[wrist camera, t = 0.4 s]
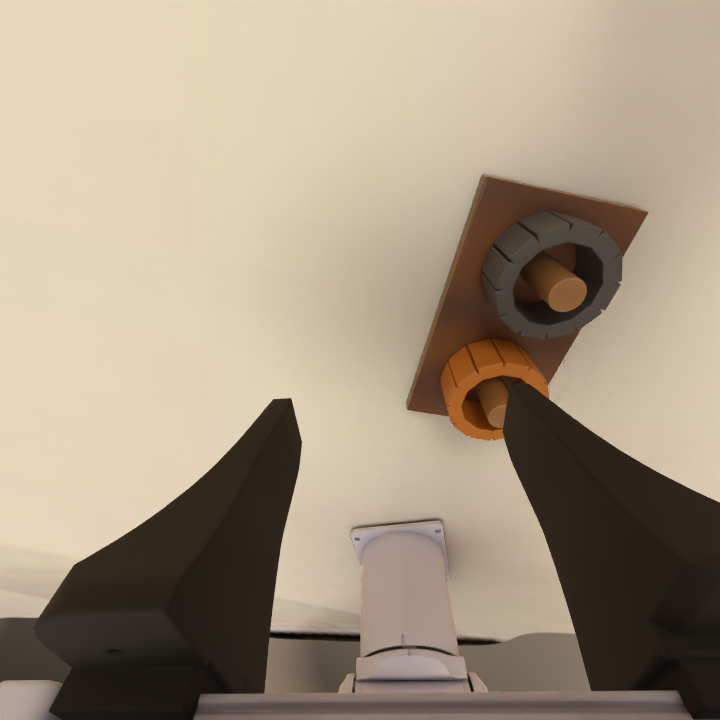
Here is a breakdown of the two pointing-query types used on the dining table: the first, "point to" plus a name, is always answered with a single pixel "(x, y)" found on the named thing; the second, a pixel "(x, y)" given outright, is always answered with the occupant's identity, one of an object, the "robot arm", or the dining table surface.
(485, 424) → the amber tape
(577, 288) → the rack
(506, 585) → the dining table surface
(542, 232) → the ring
